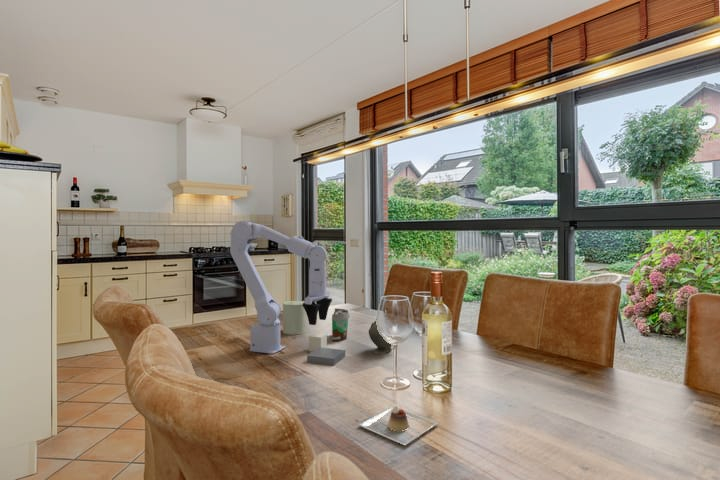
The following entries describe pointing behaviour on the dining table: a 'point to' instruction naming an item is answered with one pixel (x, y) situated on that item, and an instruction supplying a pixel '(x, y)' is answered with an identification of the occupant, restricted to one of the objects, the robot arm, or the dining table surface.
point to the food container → (339, 324)
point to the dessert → (397, 422)
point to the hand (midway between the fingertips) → (317, 322)
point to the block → (317, 341)
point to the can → (294, 318)
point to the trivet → (326, 356)
